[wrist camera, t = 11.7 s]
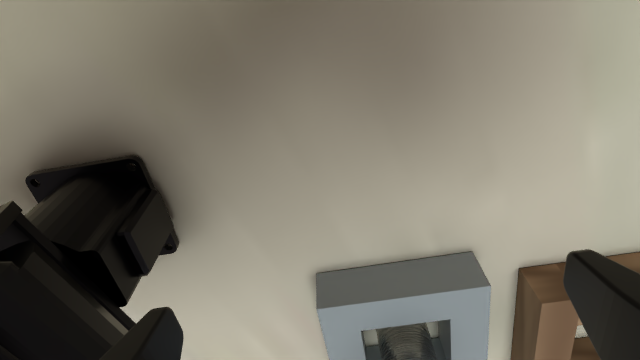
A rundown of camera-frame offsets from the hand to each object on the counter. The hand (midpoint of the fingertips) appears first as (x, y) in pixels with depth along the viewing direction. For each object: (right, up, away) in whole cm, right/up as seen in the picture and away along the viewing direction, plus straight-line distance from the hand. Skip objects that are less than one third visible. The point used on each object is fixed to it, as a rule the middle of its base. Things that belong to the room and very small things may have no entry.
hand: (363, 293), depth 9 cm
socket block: (+5, -7, +19) cm, 21 cm away
